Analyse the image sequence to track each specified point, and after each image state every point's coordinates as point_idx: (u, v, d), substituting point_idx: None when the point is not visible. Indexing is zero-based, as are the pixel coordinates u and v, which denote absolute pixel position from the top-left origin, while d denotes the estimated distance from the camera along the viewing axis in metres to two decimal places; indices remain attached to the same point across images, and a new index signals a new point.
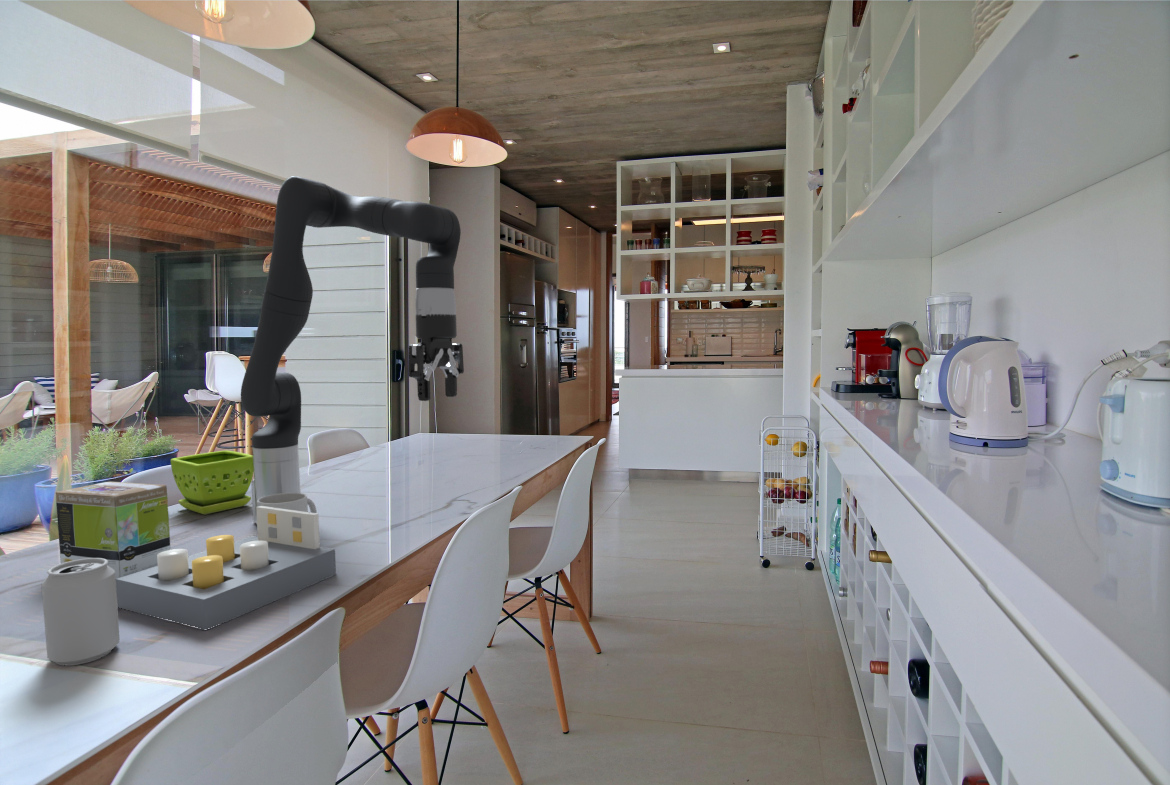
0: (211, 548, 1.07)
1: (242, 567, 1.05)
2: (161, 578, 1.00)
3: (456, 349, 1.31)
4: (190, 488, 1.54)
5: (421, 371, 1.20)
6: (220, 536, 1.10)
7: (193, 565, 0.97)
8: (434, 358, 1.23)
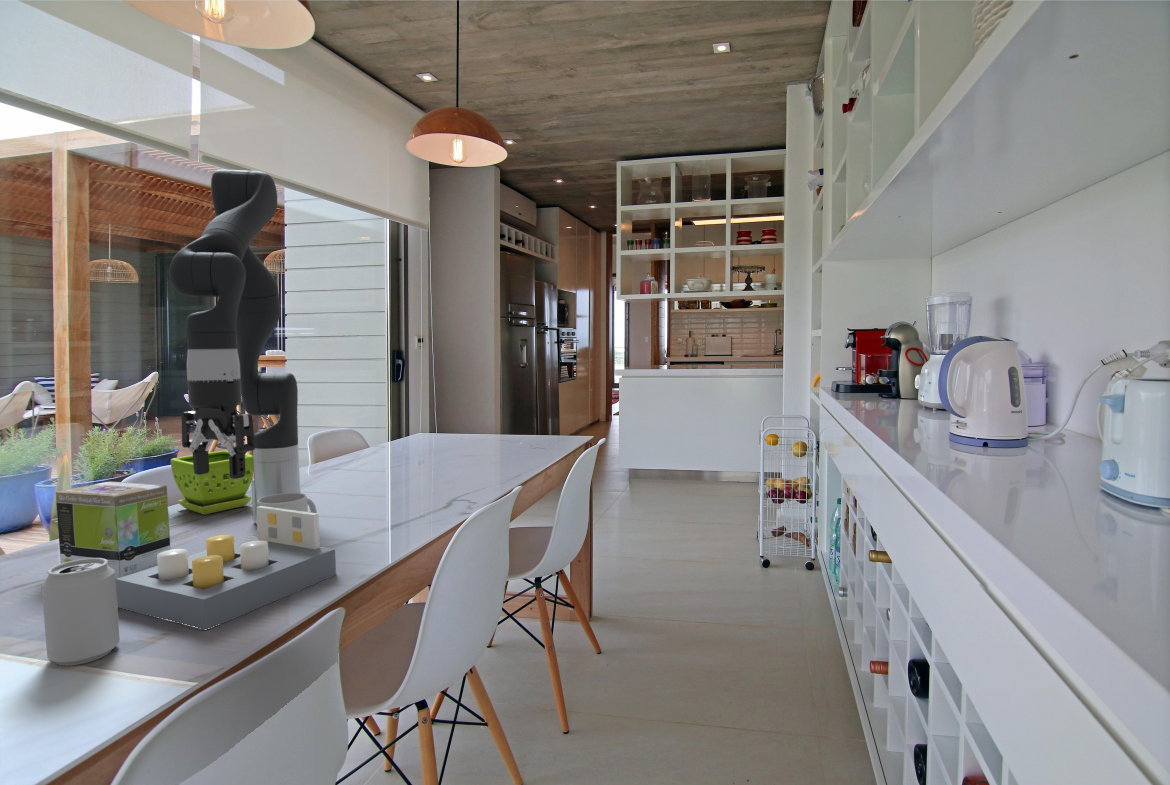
0: (211, 548, 1.07)
1: (242, 567, 1.05)
2: (161, 578, 1.00)
3: None
4: (190, 488, 1.54)
5: None
6: (220, 536, 1.10)
7: (193, 565, 0.97)
8: None
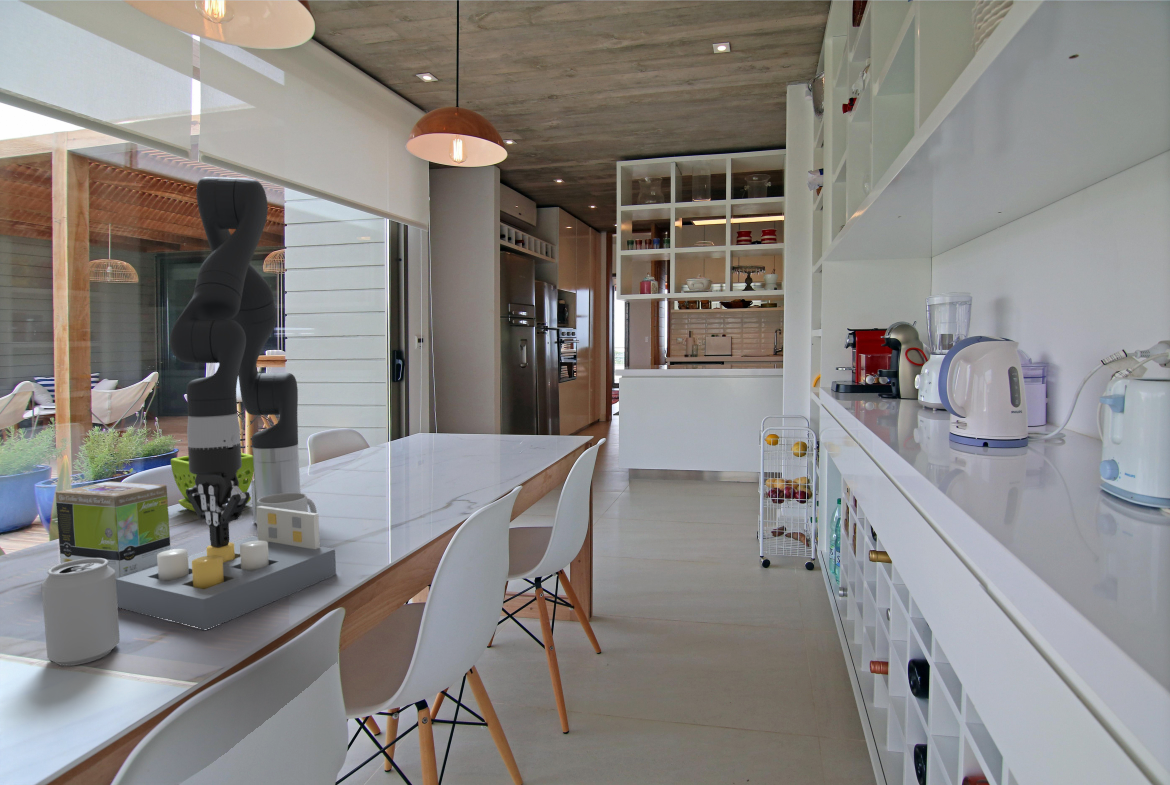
0: None
1: (242, 567, 1.05)
2: (161, 578, 1.00)
3: None
4: None
5: None
6: None
7: (193, 565, 0.97)
8: None
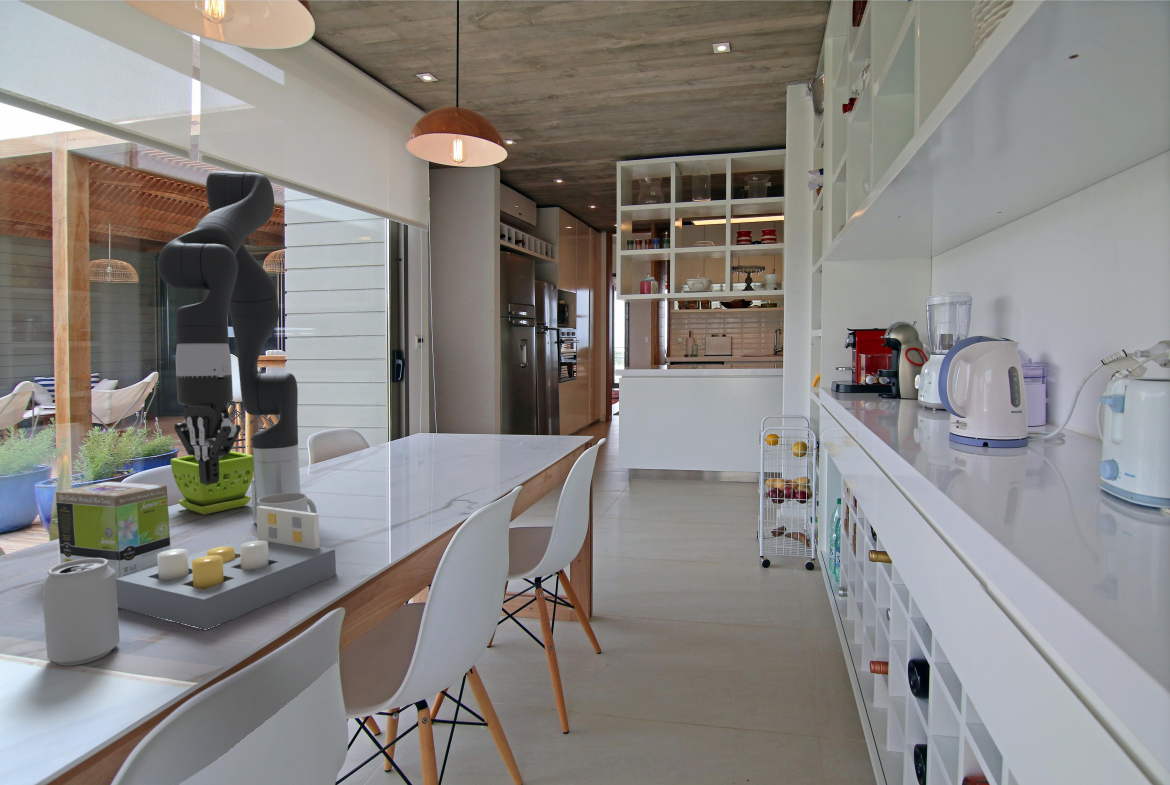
0: None
1: (242, 567, 1.05)
2: (161, 578, 1.00)
3: None
4: (190, 488, 1.54)
5: None
6: (221, 548, 1.10)
7: (193, 565, 0.97)
8: None
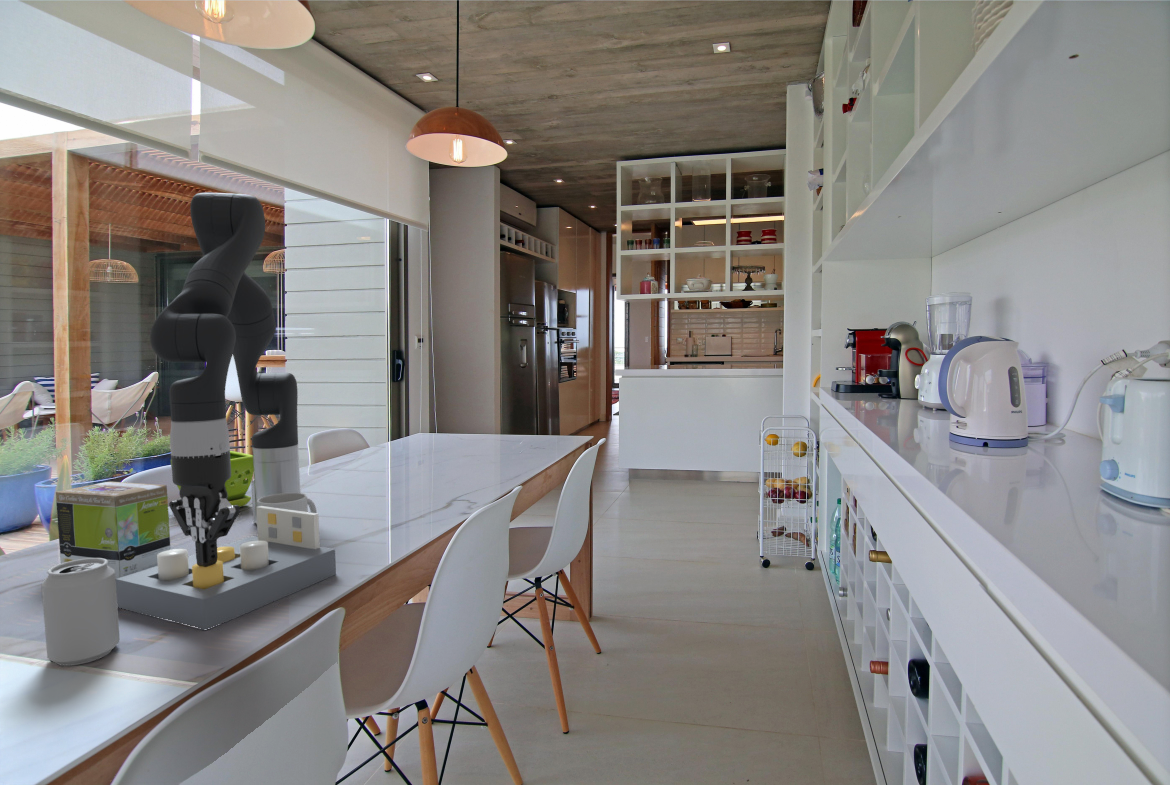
0: None
1: (242, 567, 1.05)
2: (161, 578, 1.00)
3: None
4: None
5: None
6: (221, 548, 1.10)
7: (193, 570, 0.97)
8: None
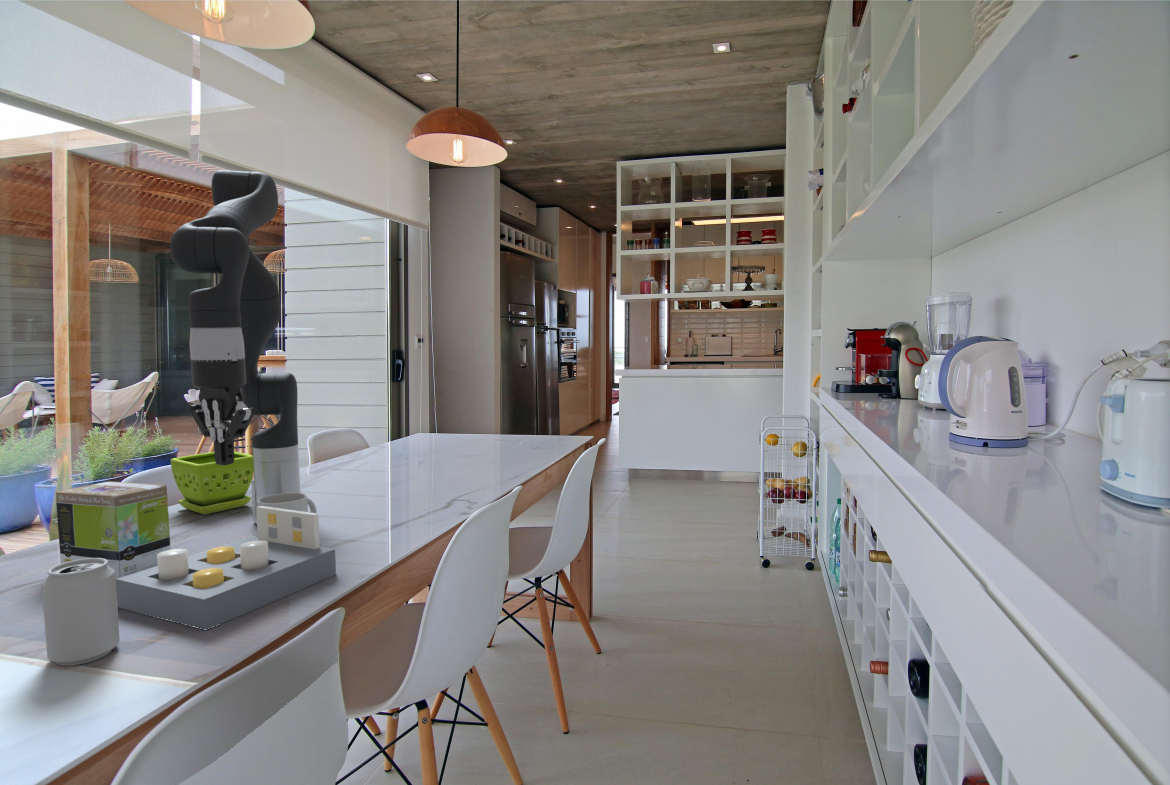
0: (212, 561, 1.08)
1: (242, 567, 1.05)
2: (161, 578, 1.00)
3: None
4: (190, 488, 1.54)
5: None
6: (221, 548, 1.10)
7: (194, 578, 0.97)
8: None
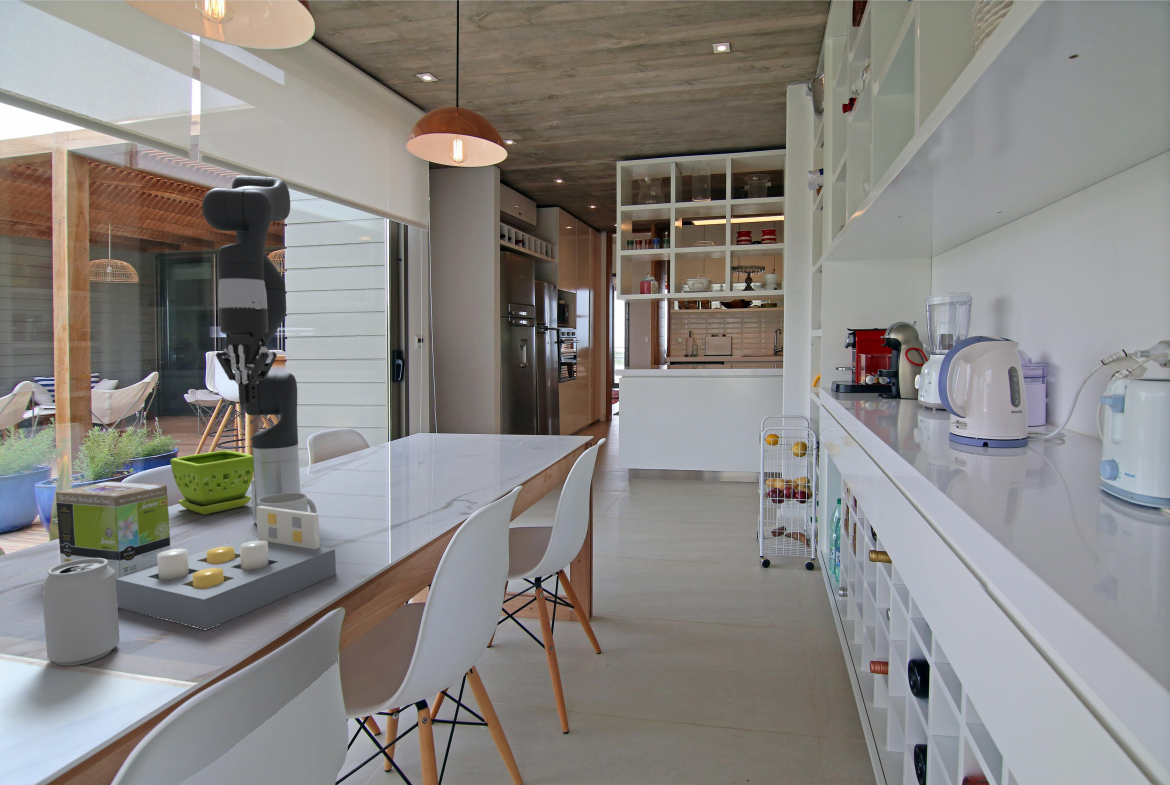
0: (212, 561, 1.08)
1: (242, 567, 1.05)
2: (161, 578, 1.00)
3: None
4: (190, 488, 1.54)
5: None
6: (221, 548, 1.10)
7: (194, 578, 0.97)
8: None
